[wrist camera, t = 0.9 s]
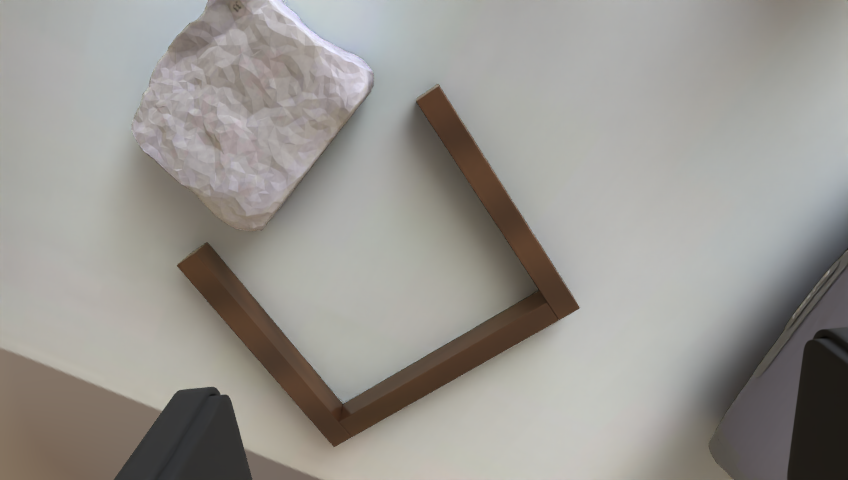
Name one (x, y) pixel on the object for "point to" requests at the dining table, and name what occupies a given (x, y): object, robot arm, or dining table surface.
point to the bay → (433, 368)
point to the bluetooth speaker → (778, 388)
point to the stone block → (247, 106)
